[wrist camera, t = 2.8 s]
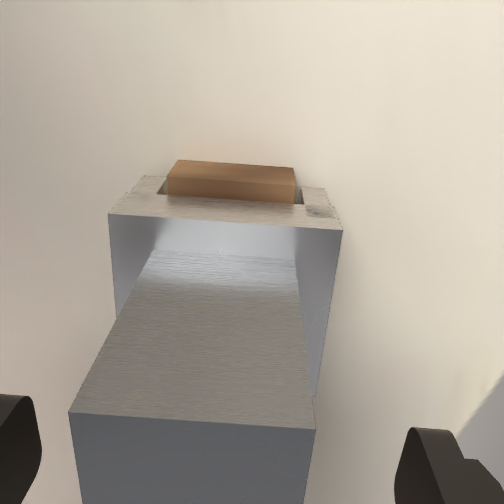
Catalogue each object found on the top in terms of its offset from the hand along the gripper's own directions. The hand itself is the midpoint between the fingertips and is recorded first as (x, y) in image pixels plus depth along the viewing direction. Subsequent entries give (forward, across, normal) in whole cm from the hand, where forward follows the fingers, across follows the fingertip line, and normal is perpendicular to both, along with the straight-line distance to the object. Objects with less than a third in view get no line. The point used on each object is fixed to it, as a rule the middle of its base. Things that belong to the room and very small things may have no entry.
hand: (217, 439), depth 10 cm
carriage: (+8, 0, 0) cm, 9 cm away
